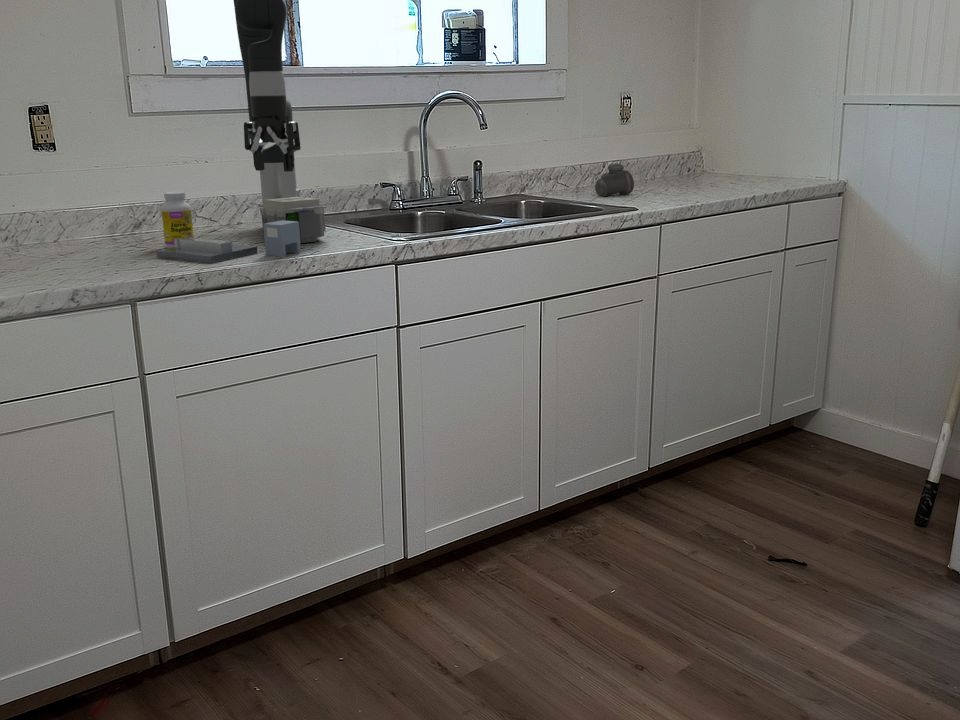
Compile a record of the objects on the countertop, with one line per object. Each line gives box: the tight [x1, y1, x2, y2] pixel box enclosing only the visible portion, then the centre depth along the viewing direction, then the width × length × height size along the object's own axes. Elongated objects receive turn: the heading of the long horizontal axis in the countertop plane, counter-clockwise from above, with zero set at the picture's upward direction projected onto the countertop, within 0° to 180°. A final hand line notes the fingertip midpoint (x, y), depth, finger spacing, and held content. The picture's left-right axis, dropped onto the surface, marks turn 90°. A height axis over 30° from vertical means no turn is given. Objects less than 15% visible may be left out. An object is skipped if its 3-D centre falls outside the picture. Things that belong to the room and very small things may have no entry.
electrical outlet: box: [258, 196, 328, 244], centre depth 227 cm, size 12×28×10 cm, turn 29°
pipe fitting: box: [594, 163, 635, 198], centre depth 301 cm, size 12×8×10 cm
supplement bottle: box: [160, 191, 195, 249], centre depth 217 cm, size 7×7×13 cm
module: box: [262, 220, 302, 257], centre depth 206 cm, size 6×5×7 cm
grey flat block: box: [155, 237, 258, 264], centre depth 207 cm, size 14×17×4 cm
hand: (274, 170), depth 202 cm, fingers open, 8 cm apart
